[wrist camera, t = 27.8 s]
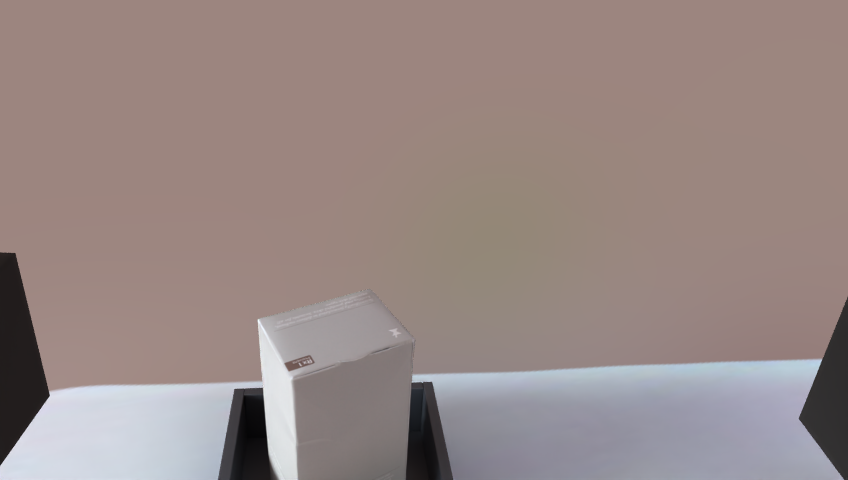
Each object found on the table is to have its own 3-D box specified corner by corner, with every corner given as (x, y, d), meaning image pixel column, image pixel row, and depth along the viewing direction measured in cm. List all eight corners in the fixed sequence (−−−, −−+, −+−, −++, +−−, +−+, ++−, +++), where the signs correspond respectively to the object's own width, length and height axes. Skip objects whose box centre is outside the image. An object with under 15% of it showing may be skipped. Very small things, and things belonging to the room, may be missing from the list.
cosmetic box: (367, 451, 54) (372, 279, 47) (410, 517, 48) (424, 334, 41) (263, 489, 50) (251, 307, 43) (298, 565, 45) (291, 372, 37)
